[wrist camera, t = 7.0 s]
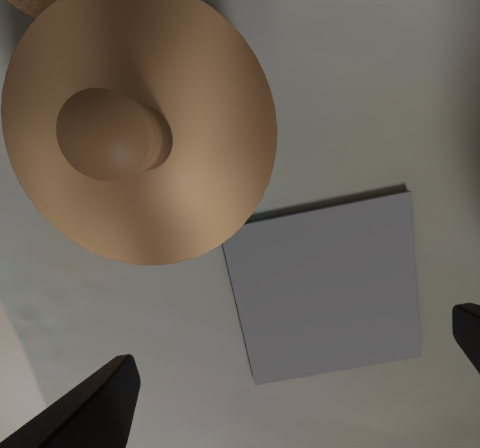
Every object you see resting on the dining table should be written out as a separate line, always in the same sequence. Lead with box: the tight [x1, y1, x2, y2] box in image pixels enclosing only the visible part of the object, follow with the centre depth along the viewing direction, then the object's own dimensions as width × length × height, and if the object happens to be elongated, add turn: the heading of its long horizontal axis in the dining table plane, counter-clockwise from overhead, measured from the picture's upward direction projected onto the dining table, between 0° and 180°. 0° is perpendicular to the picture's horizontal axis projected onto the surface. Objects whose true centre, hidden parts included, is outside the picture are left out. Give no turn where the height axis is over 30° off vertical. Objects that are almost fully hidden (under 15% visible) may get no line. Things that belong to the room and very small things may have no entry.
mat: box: [223, 191, 421, 385], centre depth 20 cm, size 12×12×1 cm
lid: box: [1, 0, 277, 265], centre depth 12 cm, size 12×12×5 cm
